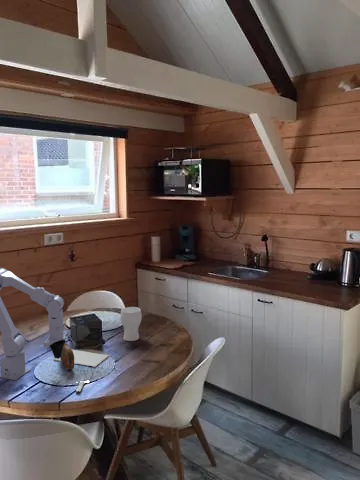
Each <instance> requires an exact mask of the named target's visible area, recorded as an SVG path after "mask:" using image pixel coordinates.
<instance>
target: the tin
mask: <svg viewBox="0 0 360 480" xmlns="http://www.w3.org/2000/svg"><path fill="white" fill-rule="evenodd" d="M71 349H72V348H71V347H70V345H68V343H67V342H65V344H64V346H63V349H62V353H61V357H60V359H61V362H60V363H62V365H63V366H64V368H65V369H66V371H69V370H73V369H74V368H75V364H74V354H73V351H72V350H73V349H72V350H71Z"/></svg>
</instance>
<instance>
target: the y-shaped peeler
mask: <svg viewBox="0 0 360 480" xmlns="http://www.w3.org/2000/svg"><path fill="white" fill-rule="evenodd" d="M90 381H91V380H90ZM90 381H89V380H87V381H80V383H79V384H78V386H77V387H76V390H75V394H76V395H79V394H81V393H82V391H83V389H84V385H86V384H85V383H87V384H88V385H89V384H90ZM76 383H78V382H77V381H76V382H75V384H76Z"/></svg>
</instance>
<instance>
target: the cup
mask: <svg viewBox="0 0 360 480" xmlns="http://www.w3.org/2000/svg"><path fill="white" fill-rule="evenodd" d="M142 315H143V314H142V310H141V308H140V307H136V306H127V307H123V308H122V309H121V311H120V315H119V316H120V318H119V319H120V322H121V324H122V327H123V330H124V332H123V333H124V334H123V340H124V341H127V342H134V341H137V340H139V339H140V334H139V326H140V325H141V321H142V319H143V317H142Z"/></svg>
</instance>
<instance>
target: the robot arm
mask: <svg viewBox="0 0 360 480" xmlns="http://www.w3.org/2000/svg"><path fill="white" fill-rule="evenodd" d="M4 287H5V288H6V287H7V288H8V287H11V288H12V287H13V288H14V289H17V290H19V291H21V292H23V293H24V294H27V295H29V297H30V300H31V301H33V302H35V303H37V304H38V305H40V306H42V307H44V308H45V309H46V311H47V312H48V313H47V314H48V335H49V336H47V337H48V338H47V339H46V340H45V341H44V342H43V348H47V349H48V348H50V349H51V351H52V355H53V359H55V358H57V359H59V358H60V357H61V353H62V349H63V346H64V344H65V343H66V339H67V337H68V336H70V331H69V330H65V327H64V328H63V324H64V312H63V307H64V304H65V300H64V298H63V297H61V296H60V295H58V294H57V295H55V293H50V292H49V291H47V290H45V288H44V287H40V286H37V287H34V286H33V285H31V284H29V283H28V282H26V281H25V280H23V279H21V278H20V277H18V276H17V275H15V274H14V273H13V272H12V271H10V270H8V269H6V268H3V267H0V291H1V290H2V288H4ZM0 334H1V335H2V336H1V344H2V350H3V352H4V354H5V355H4V357H3V358H2V359H1V360H0V378H3V379H9V380H12V381H16V380H17V379H19V378H21V377H22V376H24V375H25V374H27V373H29V372H30V371H31V369H30V368H26V353H25V350H26V349H25V346H26V343H27V338H26V336H25V335H24V334H23V333H21V331H20V329H18V328H16V326H15V324H14V323H13V320H12V318H11V316H10V314H9V312H8V309H7V308H6V306H5V304H4V302H3V299H2V297H1V296H0ZM66 336H67V337H66ZM64 339H65V340H64Z"/></svg>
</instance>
